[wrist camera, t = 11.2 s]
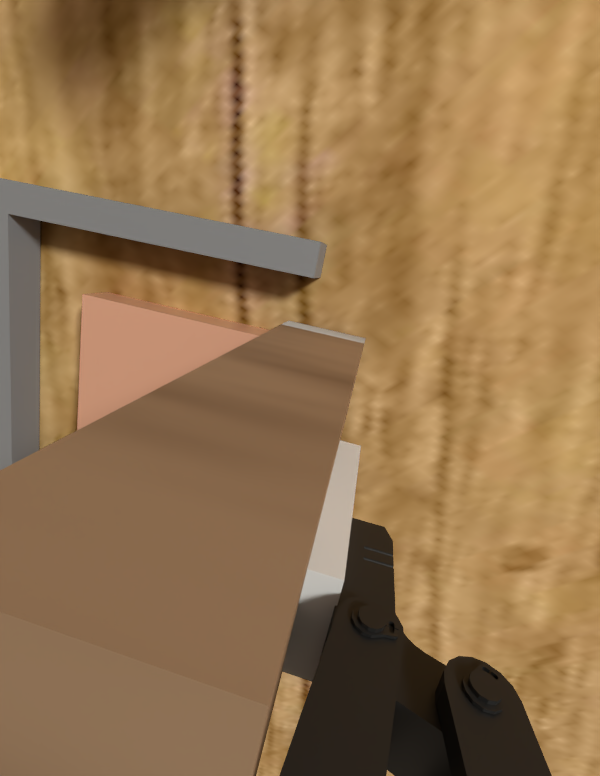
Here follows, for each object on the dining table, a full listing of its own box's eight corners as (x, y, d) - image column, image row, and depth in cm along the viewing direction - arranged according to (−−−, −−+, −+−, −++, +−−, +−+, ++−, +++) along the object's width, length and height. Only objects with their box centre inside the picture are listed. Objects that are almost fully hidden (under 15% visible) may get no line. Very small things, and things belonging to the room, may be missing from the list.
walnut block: (316, 537, 18) (141, 1229, 5) (251, 517, 19) (-69, 1114, 5) (365, 338, 16) (268, 705, 2) (288, 320, 16) (-161, 553, 3)
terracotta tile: (258, 499, 19) (244, 524, 18) (103, 455, 20) (75, 473, 19) (290, 333, 17) (279, 340, 15) (113, 291, 18) (82, 294, 16)
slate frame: (260, 573, 20) (250, 597, 19) (18, 499, 22) (-9, 516, 20) (327, 244, 16) (321, 241, 14) (14, 182, 17) (-21, 174, 16)
